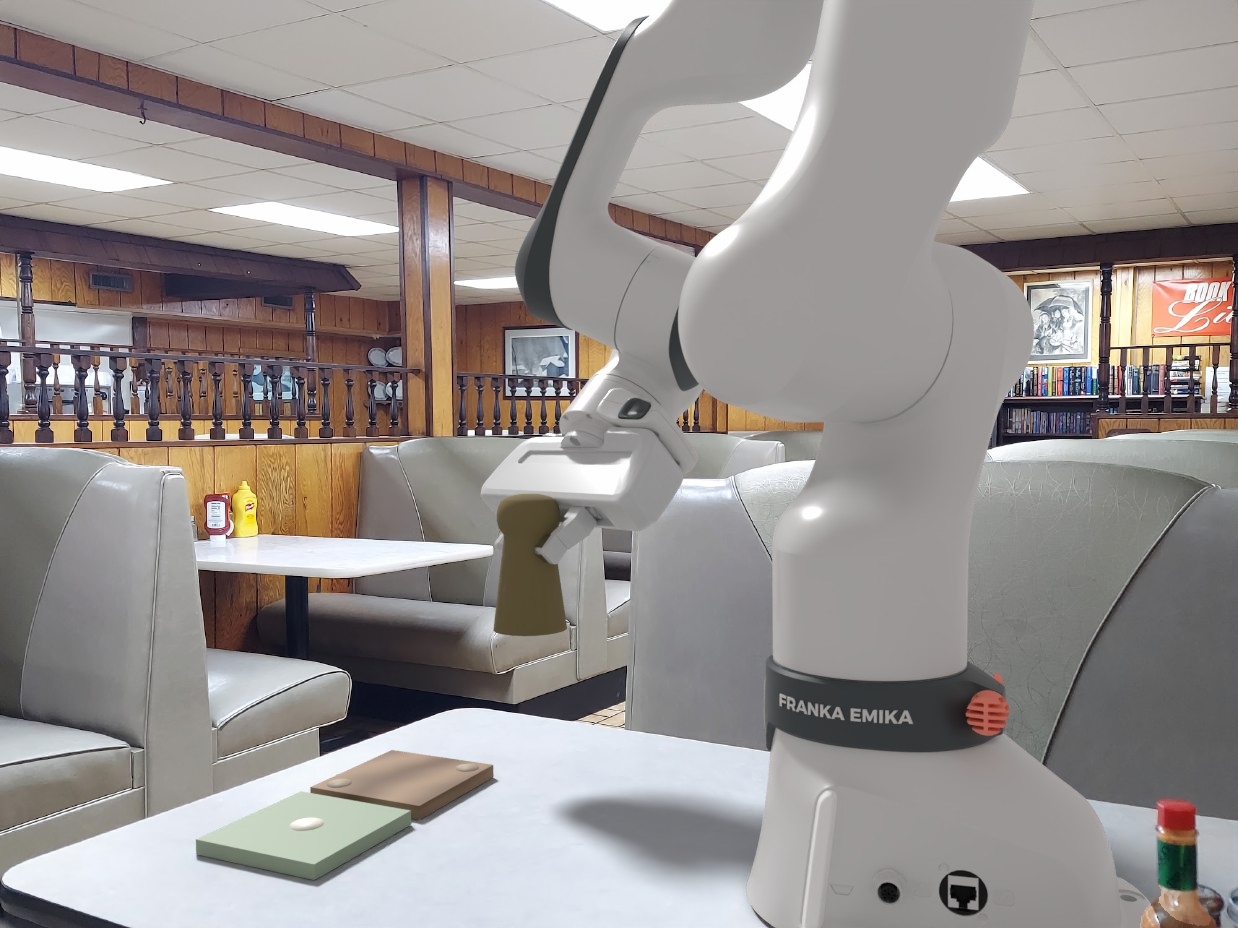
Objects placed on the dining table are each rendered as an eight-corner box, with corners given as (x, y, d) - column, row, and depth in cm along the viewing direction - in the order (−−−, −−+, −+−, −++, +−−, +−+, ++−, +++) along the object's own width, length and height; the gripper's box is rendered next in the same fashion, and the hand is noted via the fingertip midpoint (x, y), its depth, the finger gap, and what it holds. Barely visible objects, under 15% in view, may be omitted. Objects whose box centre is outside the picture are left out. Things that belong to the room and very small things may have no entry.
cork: (572, 621, 88) (570, 491, 88) (561, 636, 82) (559, 496, 82) (501, 621, 89) (499, 492, 88) (485, 635, 83) (483, 497, 82)
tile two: (493, 776, 84) (493, 763, 84) (419, 819, 75) (419, 804, 75) (392, 761, 88) (392, 749, 88) (310, 799, 79) (310, 786, 79)
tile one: (411, 824, 74) (410, 809, 74) (314, 879, 65) (313, 863, 65) (301, 804, 78) (301, 790, 78) (196, 853, 69) (195, 838, 69)
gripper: (518, 411, 97) (430, 523, 91) (674, 404, 82) (581, 539, 76) (557, 457, 100) (473, 569, 94) (714, 459, 85) (627, 593, 79)
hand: (523, 556), depth 85 cm, fingers closed on cork, 4 cm apart
